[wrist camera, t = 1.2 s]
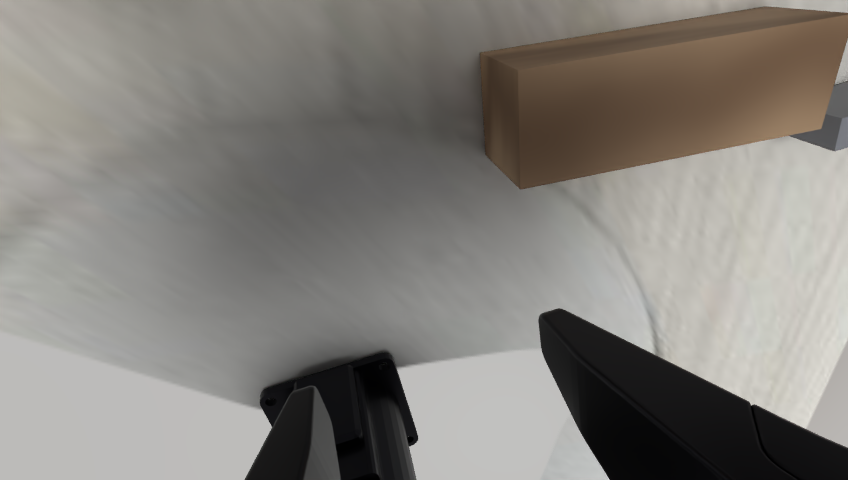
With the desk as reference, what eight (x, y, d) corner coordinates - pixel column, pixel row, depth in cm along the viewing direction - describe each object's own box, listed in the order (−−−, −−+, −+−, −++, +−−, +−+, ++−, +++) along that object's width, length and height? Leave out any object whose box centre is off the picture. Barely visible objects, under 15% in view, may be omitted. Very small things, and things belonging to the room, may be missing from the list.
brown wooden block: (740, 104, 22) (820, 129, 19) (483, 152, 21) (520, 189, 17) (760, 6, 20) (854, 13, 17) (477, 51, 19) (517, 70, 15)
